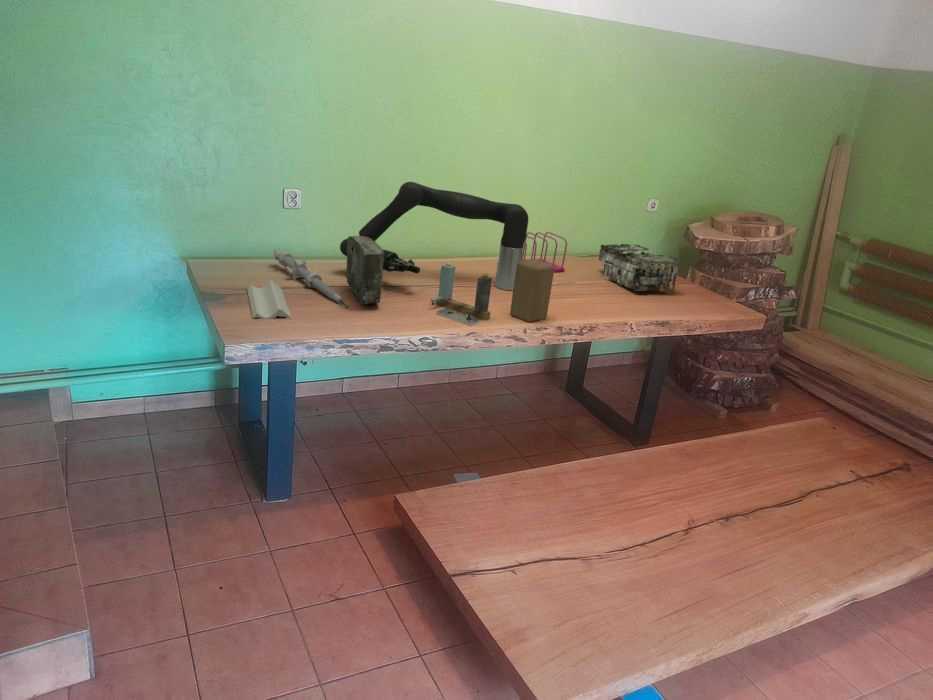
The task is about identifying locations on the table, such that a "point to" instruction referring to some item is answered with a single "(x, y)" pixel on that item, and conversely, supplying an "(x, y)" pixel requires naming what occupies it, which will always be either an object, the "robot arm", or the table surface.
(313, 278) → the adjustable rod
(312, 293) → the table surface
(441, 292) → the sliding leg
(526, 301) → the block
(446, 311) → the grey flat plate
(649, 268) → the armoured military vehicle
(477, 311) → the dark grey l-shaped piece
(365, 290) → the concrete block
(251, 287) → the crown molding
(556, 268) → the file sorter
